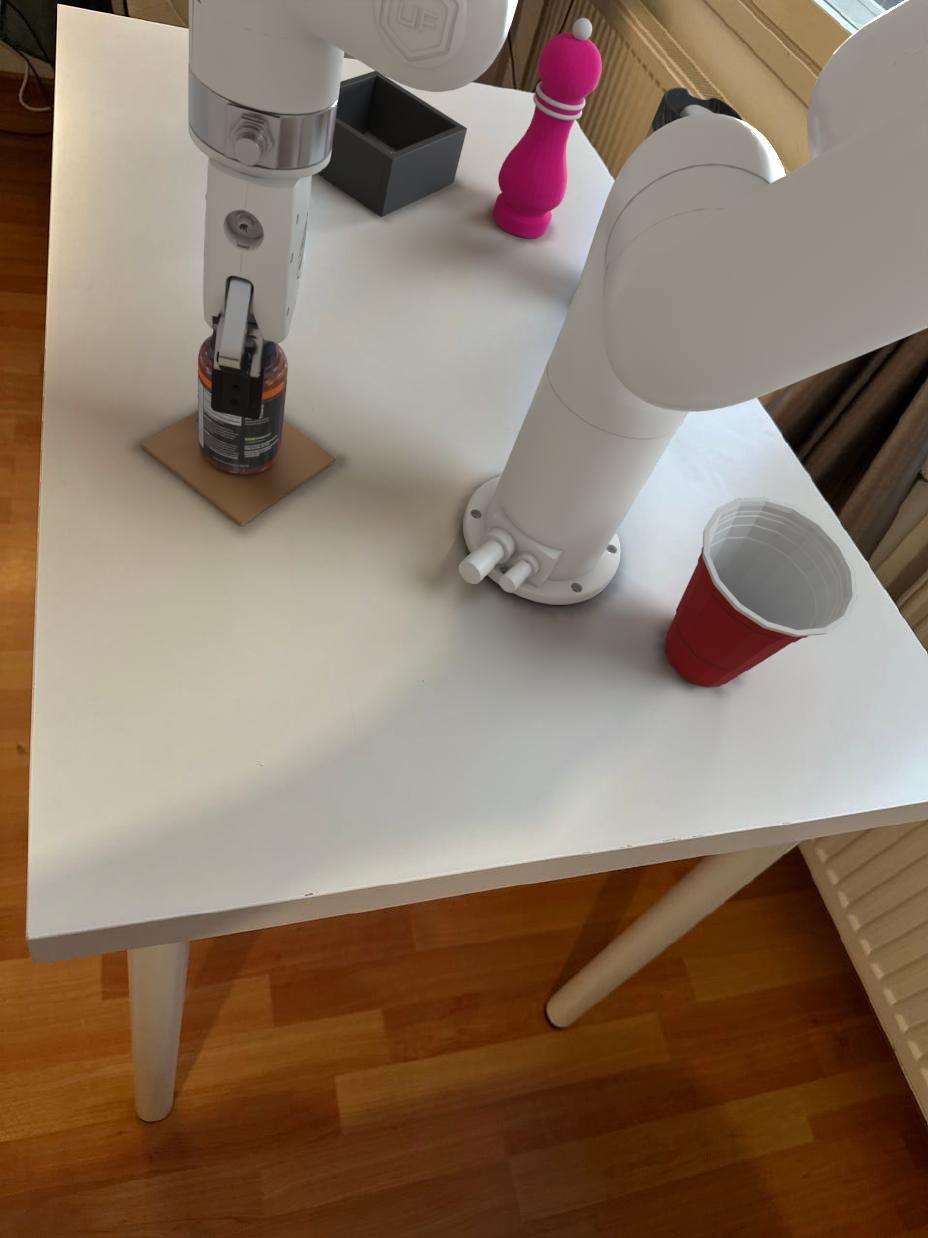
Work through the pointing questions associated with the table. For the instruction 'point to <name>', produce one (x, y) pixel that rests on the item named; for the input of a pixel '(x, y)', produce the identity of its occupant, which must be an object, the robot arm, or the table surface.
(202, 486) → the coaster
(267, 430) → the supplement bottle
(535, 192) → the pepper mill
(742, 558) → the plastic cup
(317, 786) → the table surface
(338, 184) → the bin
